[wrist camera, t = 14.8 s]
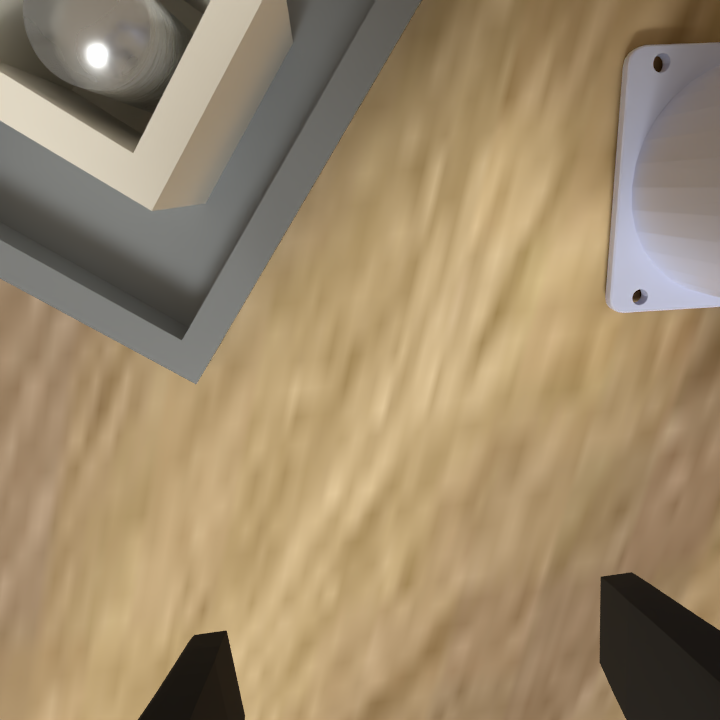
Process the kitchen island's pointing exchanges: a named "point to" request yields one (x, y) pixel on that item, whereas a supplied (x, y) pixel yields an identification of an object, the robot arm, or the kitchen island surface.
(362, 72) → the tray
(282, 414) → the kitchen island surface
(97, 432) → the kitchen island surface
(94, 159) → the cream block
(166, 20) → the cylinder
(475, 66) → the kitchen island surface
